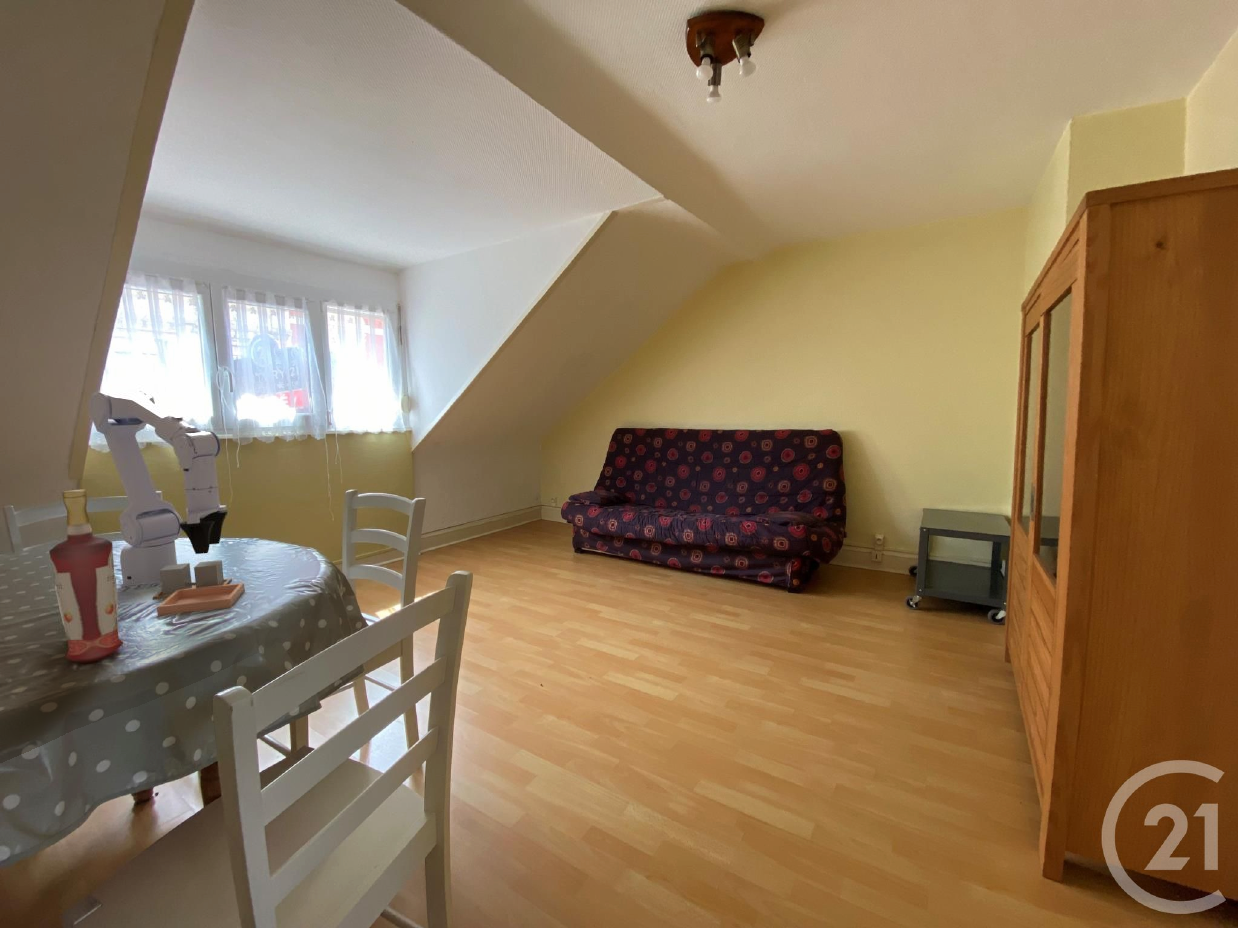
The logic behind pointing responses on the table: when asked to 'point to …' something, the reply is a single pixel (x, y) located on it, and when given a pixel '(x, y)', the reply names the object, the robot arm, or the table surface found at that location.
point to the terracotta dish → (201, 599)
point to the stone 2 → (209, 574)
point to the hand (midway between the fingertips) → (207, 548)
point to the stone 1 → (175, 578)
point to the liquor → (86, 585)
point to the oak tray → (160, 596)
